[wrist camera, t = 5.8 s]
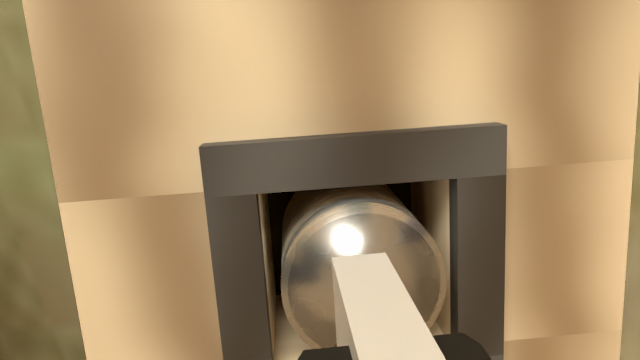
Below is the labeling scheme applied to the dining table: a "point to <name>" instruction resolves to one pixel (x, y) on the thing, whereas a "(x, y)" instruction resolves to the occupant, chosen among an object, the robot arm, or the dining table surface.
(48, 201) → the dining table surface
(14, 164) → the dining table surface
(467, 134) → the block
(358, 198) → the peg
